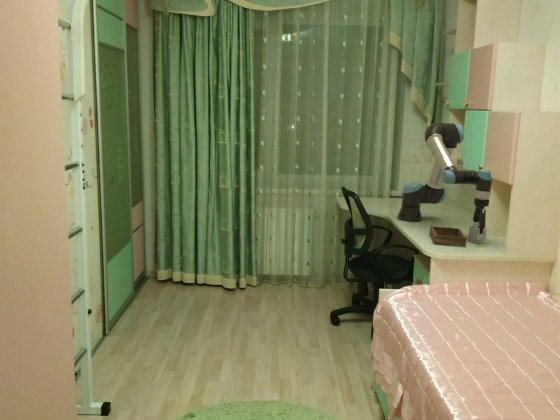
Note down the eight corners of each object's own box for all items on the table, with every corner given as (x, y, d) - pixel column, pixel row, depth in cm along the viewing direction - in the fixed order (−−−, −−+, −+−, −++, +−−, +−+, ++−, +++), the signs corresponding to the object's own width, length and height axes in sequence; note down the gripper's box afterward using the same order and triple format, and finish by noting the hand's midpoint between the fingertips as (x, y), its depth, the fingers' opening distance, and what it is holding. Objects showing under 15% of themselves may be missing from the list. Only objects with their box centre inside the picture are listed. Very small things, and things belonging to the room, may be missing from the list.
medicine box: (484, 243, 290) (487, 228, 289) (480, 244, 288) (482, 229, 286) (472, 240, 296) (474, 225, 295) (467, 241, 294) (469, 225, 292)
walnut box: (429, 234, 304) (430, 226, 303) (458, 237, 302) (459, 228, 301) (434, 244, 283) (435, 235, 282) (465, 247, 280) (466, 238, 279)
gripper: (494, 203, 274) (489, 242, 279) (484, 195, 299) (479, 231, 303) (479, 201, 275) (474, 241, 280) (470, 193, 300) (465, 230, 304)
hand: (477, 236), depth 291 cm, fingers open, 13 cm apart
